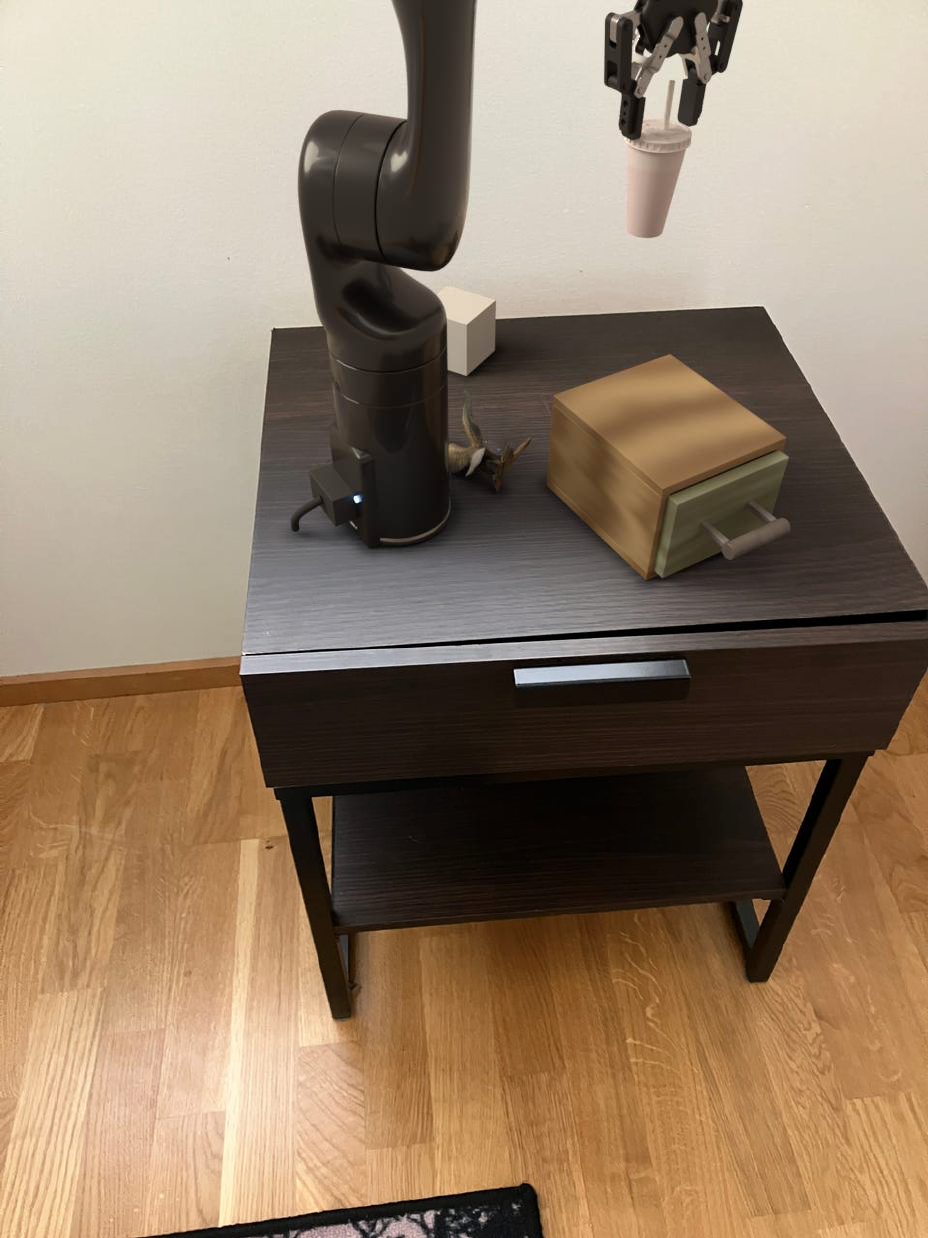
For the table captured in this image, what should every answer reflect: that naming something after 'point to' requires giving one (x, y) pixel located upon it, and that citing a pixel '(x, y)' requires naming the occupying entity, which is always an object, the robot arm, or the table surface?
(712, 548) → the drawer
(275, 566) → the table surface
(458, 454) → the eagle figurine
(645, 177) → the smoothie
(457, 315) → the white cube
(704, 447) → the cabinet
